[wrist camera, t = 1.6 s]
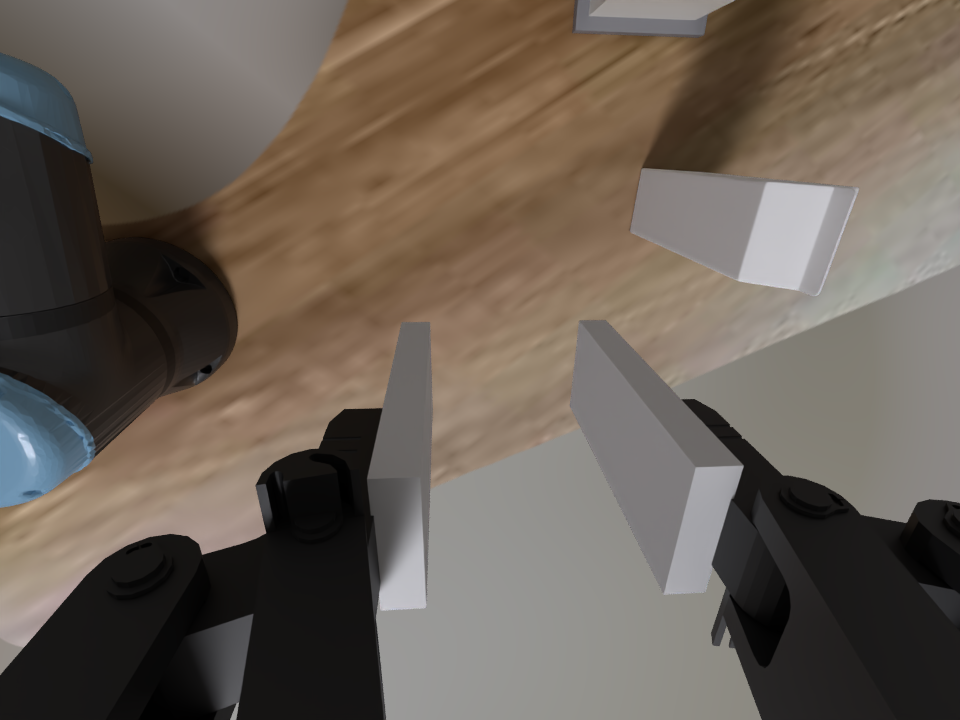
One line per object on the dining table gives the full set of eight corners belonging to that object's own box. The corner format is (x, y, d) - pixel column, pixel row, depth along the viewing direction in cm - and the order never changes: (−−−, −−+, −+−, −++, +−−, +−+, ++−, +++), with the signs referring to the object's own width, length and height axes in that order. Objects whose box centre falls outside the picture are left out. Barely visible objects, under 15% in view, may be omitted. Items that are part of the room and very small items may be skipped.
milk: (700, 171, 45) (912, 190, 25) (685, 236, 47) (867, 300, 27) (639, 167, 44) (806, 183, 24) (627, 233, 47) (770, 296, 27)
